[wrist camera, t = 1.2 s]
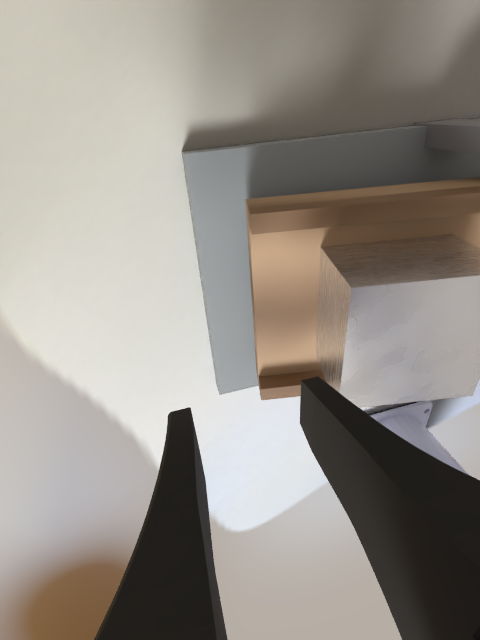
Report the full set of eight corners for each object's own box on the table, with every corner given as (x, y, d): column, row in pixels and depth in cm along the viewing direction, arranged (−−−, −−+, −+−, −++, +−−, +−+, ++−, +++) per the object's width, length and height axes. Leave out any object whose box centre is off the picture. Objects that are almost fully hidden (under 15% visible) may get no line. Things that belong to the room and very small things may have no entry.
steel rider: (425, 342, 19) (472, 395, 15) (314, 353, 19) (337, 409, 15) (454, 233, 15) (521, 271, 12) (320, 247, 15) (351, 288, 12)
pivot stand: (535, 310, 27) (615, 350, 23) (216, 385, 23) (236, 453, 18) (630, 99, 20) (778, 96, 15) (181, 149, 15) (200, 166, 11)
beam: (608, 342, 22) (661, 374, 19) (256, 378, 21) (262, 416, 19) (735, 136, 15) (838, 143, 13) (244, 182, 15) (250, 198, 13)
